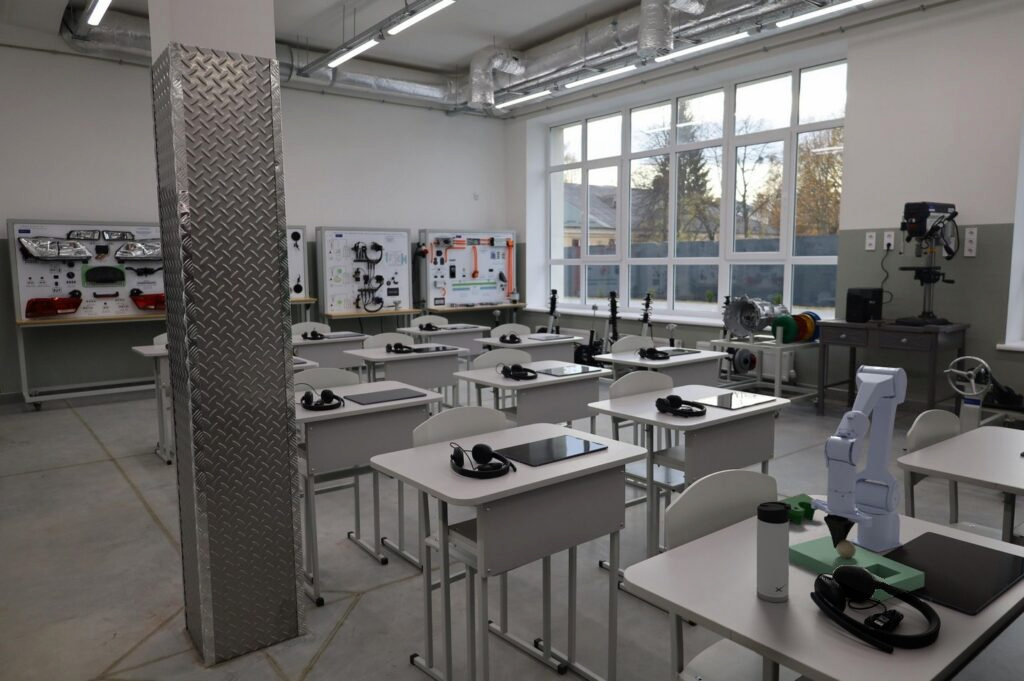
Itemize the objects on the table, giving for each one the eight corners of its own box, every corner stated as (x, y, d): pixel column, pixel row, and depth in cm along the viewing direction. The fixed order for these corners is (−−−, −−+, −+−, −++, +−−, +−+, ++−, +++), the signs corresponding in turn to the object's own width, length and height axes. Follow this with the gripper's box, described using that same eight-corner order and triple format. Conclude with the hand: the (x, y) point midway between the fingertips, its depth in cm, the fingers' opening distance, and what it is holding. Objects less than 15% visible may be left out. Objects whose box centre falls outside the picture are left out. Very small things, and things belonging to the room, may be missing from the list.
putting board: (786, 559, 160) (786, 546, 159) (828, 547, 166) (828, 535, 165) (880, 601, 138) (880, 587, 138) (924, 586, 144) (924, 572, 144)
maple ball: (842, 541, 156) (851, 534, 153) (853, 557, 154) (863, 551, 151) (829, 546, 154) (838, 539, 151) (840, 563, 152) (849, 556, 149)
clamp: (794, 539, 182) (792, 515, 178) (775, 528, 187) (773, 504, 183) (822, 516, 187) (822, 491, 182) (804, 505, 191) (803, 481, 187)
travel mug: (787, 606, 137) (788, 510, 135) (753, 598, 141) (753, 505, 139) (792, 593, 142) (793, 501, 141) (760, 586, 146) (760, 496, 144)
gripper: (802, 483, 157) (800, 539, 159) (857, 501, 144) (854, 562, 145) (824, 479, 160) (822, 535, 161) (879, 496, 147) (877, 557, 148)
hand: (839, 548), depth 154 cm, fingers closed, pressing on maple ball
